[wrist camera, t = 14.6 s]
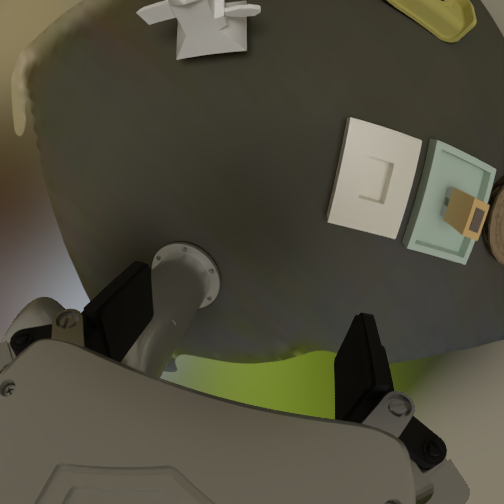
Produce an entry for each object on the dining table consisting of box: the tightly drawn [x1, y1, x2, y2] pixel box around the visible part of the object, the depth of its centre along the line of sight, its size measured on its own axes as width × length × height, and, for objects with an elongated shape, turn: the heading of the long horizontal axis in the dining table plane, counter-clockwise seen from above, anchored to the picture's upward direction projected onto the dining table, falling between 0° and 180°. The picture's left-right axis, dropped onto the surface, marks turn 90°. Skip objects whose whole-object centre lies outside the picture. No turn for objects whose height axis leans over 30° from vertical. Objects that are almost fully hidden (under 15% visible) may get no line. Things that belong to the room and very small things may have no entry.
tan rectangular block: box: [440, 187, 490, 241], centre depth 28 cm, size 5×3×8 cm, turn 171°
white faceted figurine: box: [137, 0, 261, 60], centre depth 23 cm, size 8×14×14 cm, turn 91°
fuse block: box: [326, 117, 422, 239], centre depth 33 cm, size 14×10×3 cm
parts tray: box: [402, 139, 496, 265], centre depth 31 cm, size 16×12×2 cm
